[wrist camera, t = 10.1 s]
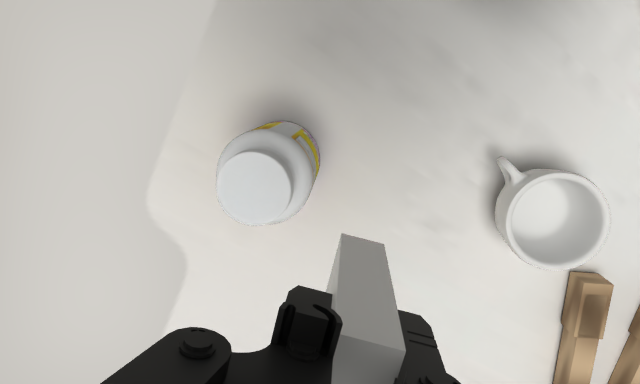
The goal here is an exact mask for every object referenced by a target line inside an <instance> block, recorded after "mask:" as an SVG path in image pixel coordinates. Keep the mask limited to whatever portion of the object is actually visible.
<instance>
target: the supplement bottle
mask: <svg viewBox="0 0 640 384" xmlns="http://www.w3.org/2000/svg"><path fill="white" fill-rule="evenodd" d="M319 166H320V155H319V150H318V147H317V144H316V142H315V140H314V139H313V137H312V136H311V135H310V134H309V133H308V132H307V131H306V130H305V129H304V128H302V127H301V126H299V125H297V124H294V123H291V122H286V121H276V122H271V123H268V124H265V125H263V126H260V127H258V128H256V129H253V130H251V131H248V132H246V133H243V134H241V135H240V136H238V137H236V138H235V139H233V140H232V141H231V142H230V143H229V144H228V145H227V146H226V148H225V149H224V151H223V152H222V154H221V156H220V158H219V161H218V165H217V170H216V194H217V198H218V201H219V203H220V205H221V207H222V209H223V210H224V211H225V212H226V214H227V215H229V216H230V217H231V218H232V219H234V220H235V221H237V222H239V223H242V224H245V225H250V226H261V225H271V224H277V223H280V222H283V221H285V220H288V219H289V218H291V217H292V216H294V215H295V214H296V213H297V212H298V211H299V210H300V209H301V208H302V207H303V206H304V204H305V203H306V201H307V199H308V197H309V195H310V192H311V189H312V187H313V184H314V182H315V179H316V176H317V174H318V171H319Z"/></svg>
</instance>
